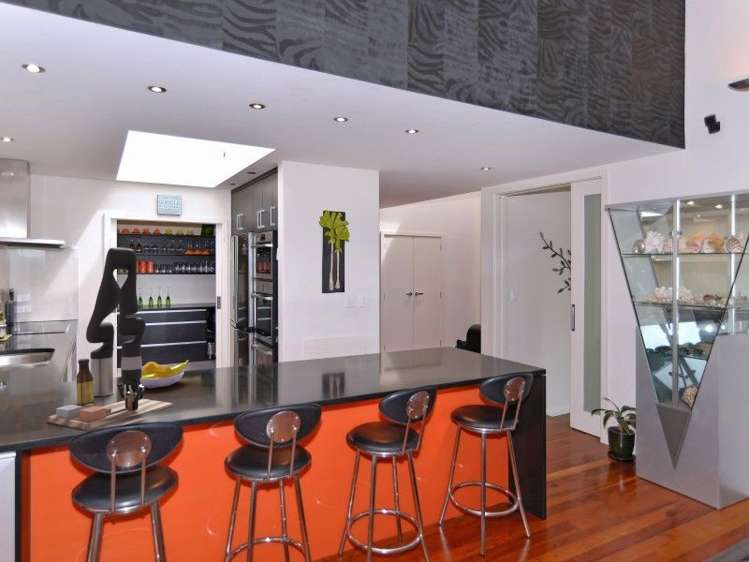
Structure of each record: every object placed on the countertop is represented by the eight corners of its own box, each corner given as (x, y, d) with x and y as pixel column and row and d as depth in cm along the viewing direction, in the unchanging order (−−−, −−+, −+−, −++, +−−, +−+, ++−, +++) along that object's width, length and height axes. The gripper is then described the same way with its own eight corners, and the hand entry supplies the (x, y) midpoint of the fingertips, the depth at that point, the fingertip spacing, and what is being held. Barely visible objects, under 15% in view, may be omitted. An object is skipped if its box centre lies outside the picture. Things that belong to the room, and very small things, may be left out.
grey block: (56, 421, 196) (56, 408, 195) (87, 412, 208) (87, 400, 207) (67, 423, 193) (67, 410, 193) (99, 414, 205) (98, 402, 205)
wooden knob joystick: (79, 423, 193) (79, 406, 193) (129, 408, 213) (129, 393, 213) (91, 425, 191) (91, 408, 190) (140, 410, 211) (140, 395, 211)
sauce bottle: (96, 403, 225) (96, 357, 224) (89, 407, 219) (89, 360, 218) (81, 403, 225) (81, 357, 224) (73, 407, 218) (73, 360, 218)
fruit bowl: (123, 392, 244) (122, 368, 244) (133, 380, 270) (133, 358, 270) (186, 389, 251) (186, 366, 251) (190, 377, 278) (190, 356, 277)
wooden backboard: (47, 424, 195) (47, 416, 195) (135, 399, 232) (135, 393, 232) (87, 432, 186) (87, 424, 186) (172, 405, 223) (172, 398, 223)
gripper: (151, 367, 211) (151, 409, 211) (126, 364, 216) (127, 405, 217) (136, 370, 204) (136, 414, 204) (111, 367, 210) (111, 409, 210)
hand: (131, 409), depth 211 cm, fingers closed on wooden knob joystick, 3 cm apart
